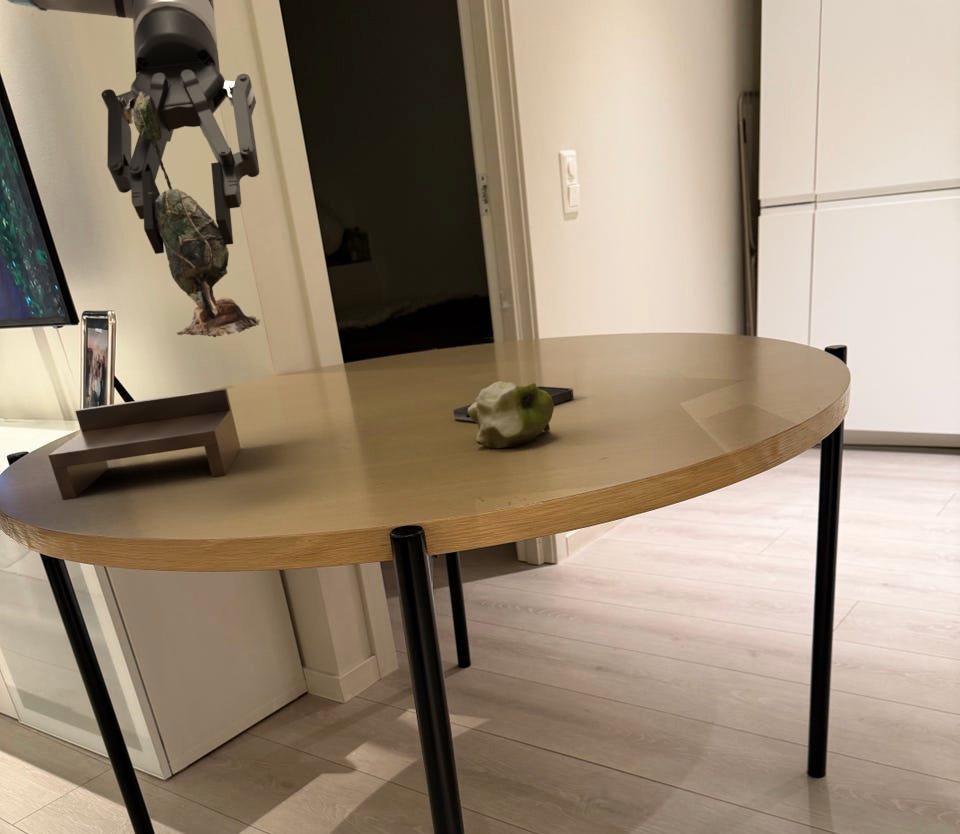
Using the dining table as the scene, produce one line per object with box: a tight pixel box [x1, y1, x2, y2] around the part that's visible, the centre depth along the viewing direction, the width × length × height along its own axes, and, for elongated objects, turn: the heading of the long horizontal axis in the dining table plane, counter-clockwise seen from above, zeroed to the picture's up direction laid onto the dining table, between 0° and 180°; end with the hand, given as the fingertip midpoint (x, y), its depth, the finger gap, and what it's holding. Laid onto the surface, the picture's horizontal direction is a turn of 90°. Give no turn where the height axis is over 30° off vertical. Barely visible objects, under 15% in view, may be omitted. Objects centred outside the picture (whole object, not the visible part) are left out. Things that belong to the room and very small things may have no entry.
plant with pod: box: [132, 91, 262, 338], centre depth 78 cm, size 8×11×20 cm
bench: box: [48, 387, 241, 500], centre depth 104 cm, size 18×14×8 cm
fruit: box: [468, 380, 555, 449], centre depth 96 cm, size 9×9×8 cm
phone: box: [452, 385, 575, 423], centre depth 113 cm, size 8×1×15 cm
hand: (189, 236), depth 76 cm, fingers closed on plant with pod, 5 cm apart
